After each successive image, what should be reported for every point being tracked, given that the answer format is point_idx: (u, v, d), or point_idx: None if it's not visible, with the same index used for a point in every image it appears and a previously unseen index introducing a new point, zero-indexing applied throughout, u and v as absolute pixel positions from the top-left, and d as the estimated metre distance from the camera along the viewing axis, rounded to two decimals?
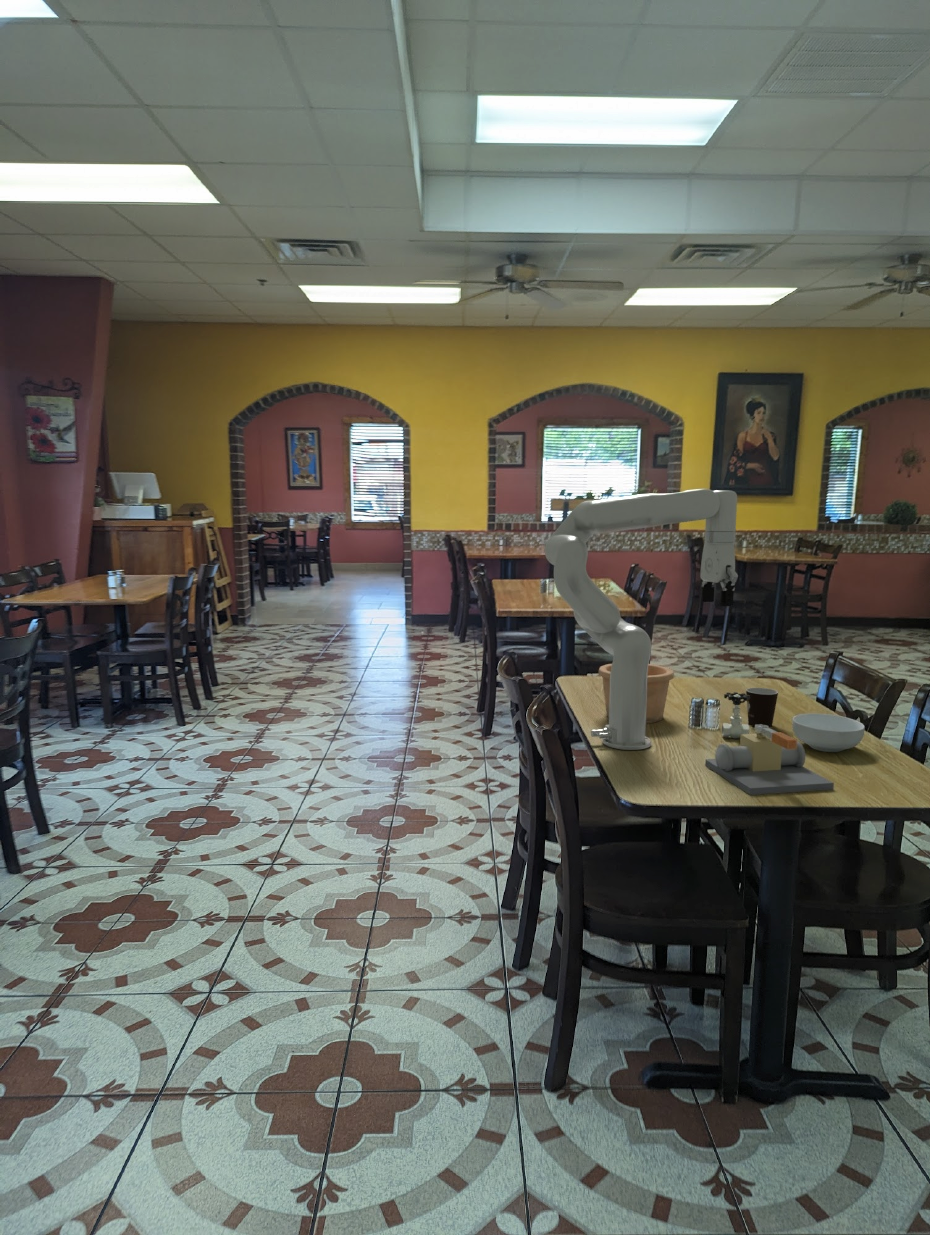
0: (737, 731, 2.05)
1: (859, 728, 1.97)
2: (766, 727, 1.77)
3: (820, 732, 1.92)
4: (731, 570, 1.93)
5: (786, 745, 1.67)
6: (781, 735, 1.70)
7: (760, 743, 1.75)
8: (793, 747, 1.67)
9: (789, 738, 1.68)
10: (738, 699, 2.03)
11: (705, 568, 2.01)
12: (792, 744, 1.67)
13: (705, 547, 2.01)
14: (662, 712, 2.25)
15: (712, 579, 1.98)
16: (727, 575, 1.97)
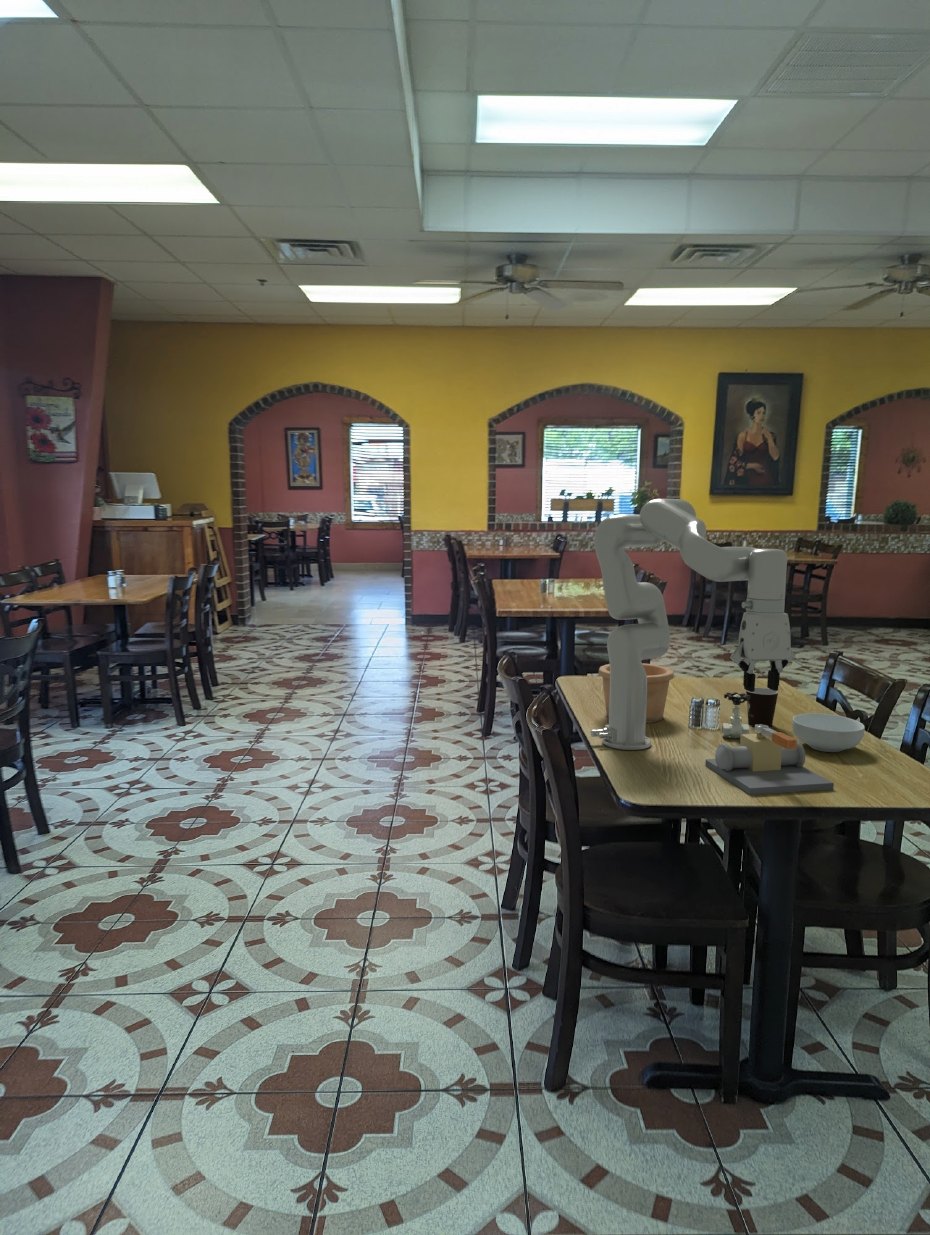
0: (737, 731, 2.05)
1: (859, 729, 1.97)
2: (766, 727, 1.77)
3: (820, 732, 1.92)
4: None
5: (786, 745, 1.67)
6: (781, 735, 1.70)
7: (760, 743, 1.75)
8: (793, 747, 1.67)
9: (789, 738, 1.68)
10: (738, 699, 2.03)
11: (763, 645, 1.62)
12: (792, 744, 1.67)
13: (760, 619, 1.61)
14: (662, 712, 2.25)
15: (779, 656, 1.63)
16: None
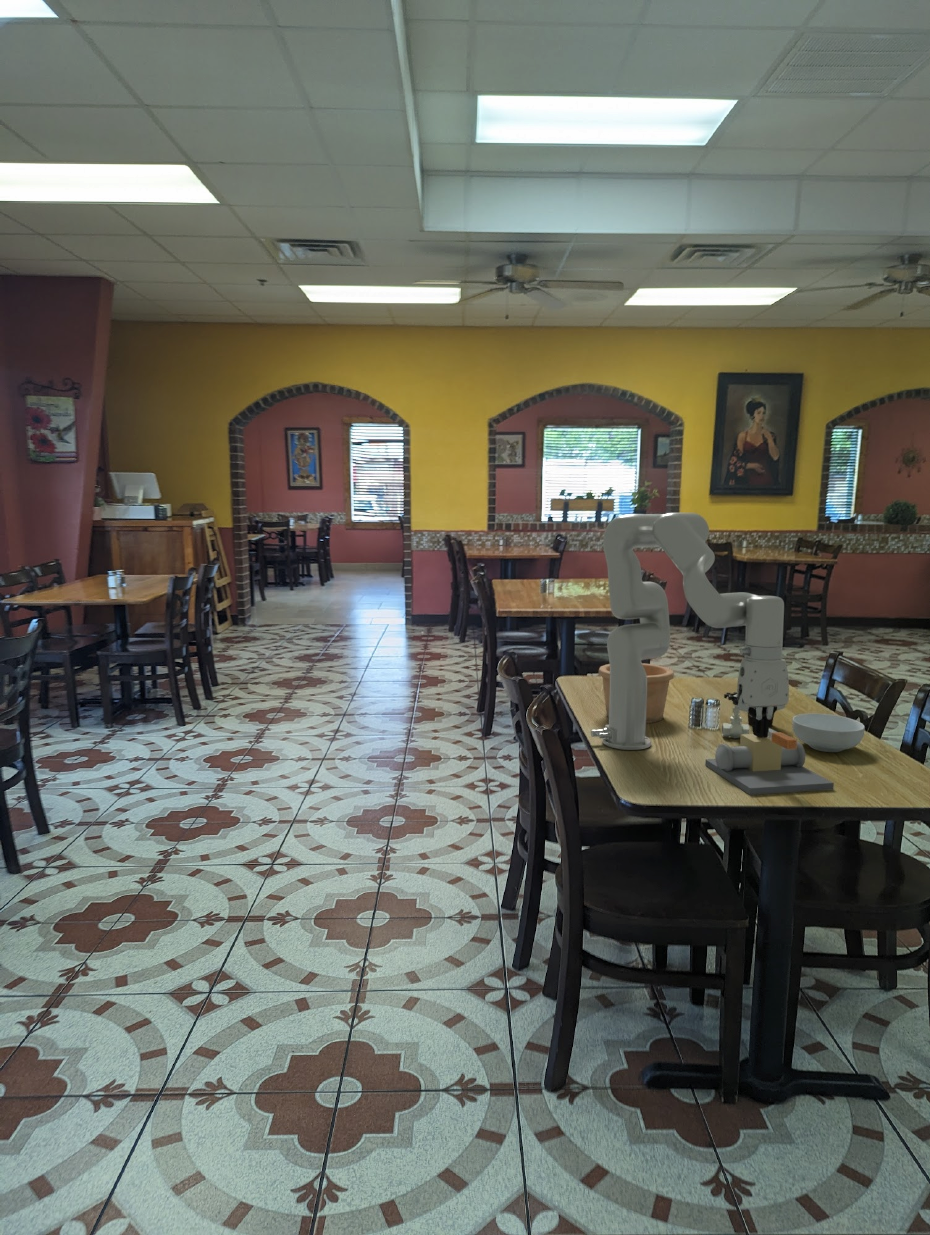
0: (737, 731, 2.05)
1: (859, 729, 1.97)
2: None
3: (820, 732, 1.92)
4: None
5: (786, 745, 1.67)
6: (781, 735, 1.70)
7: (760, 743, 1.75)
8: (793, 747, 1.67)
9: (789, 738, 1.68)
10: None
11: (761, 692, 1.63)
12: (792, 744, 1.67)
13: (758, 666, 1.62)
14: (662, 712, 2.25)
15: (778, 703, 1.64)
16: None
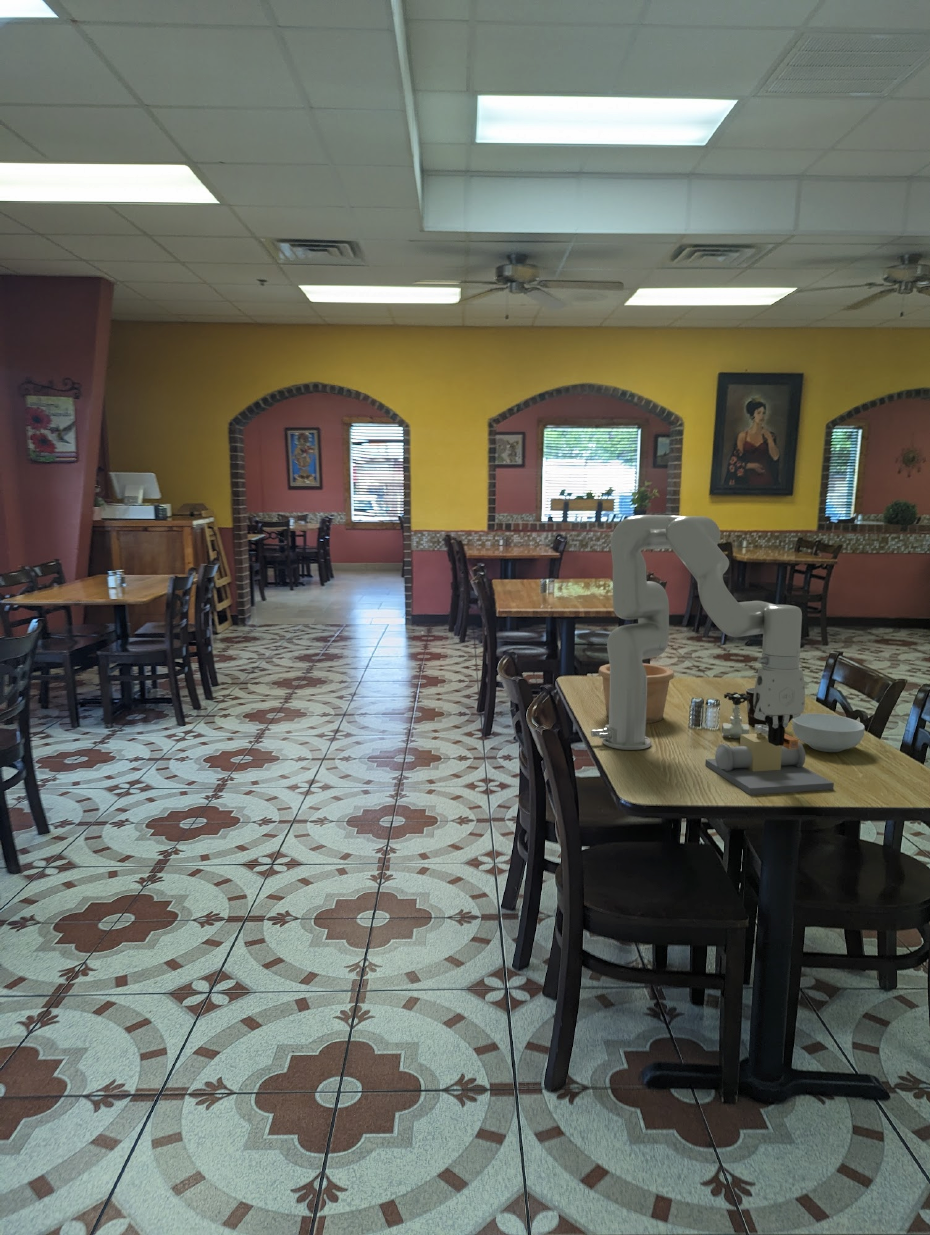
0: (737, 731, 2.05)
1: (859, 729, 1.97)
2: (766, 727, 1.77)
3: (820, 732, 1.92)
4: None
5: (788, 745, 1.67)
6: None
7: (760, 743, 1.75)
8: (795, 747, 1.67)
9: (791, 738, 1.68)
10: (738, 699, 2.03)
11: (779, 700, 1.64)
12: (794, 744, 1.67)
13: (776, 675, 1.63)
14: (662, 712, 2.25)
15: (795, 711, 1.65)
16: None
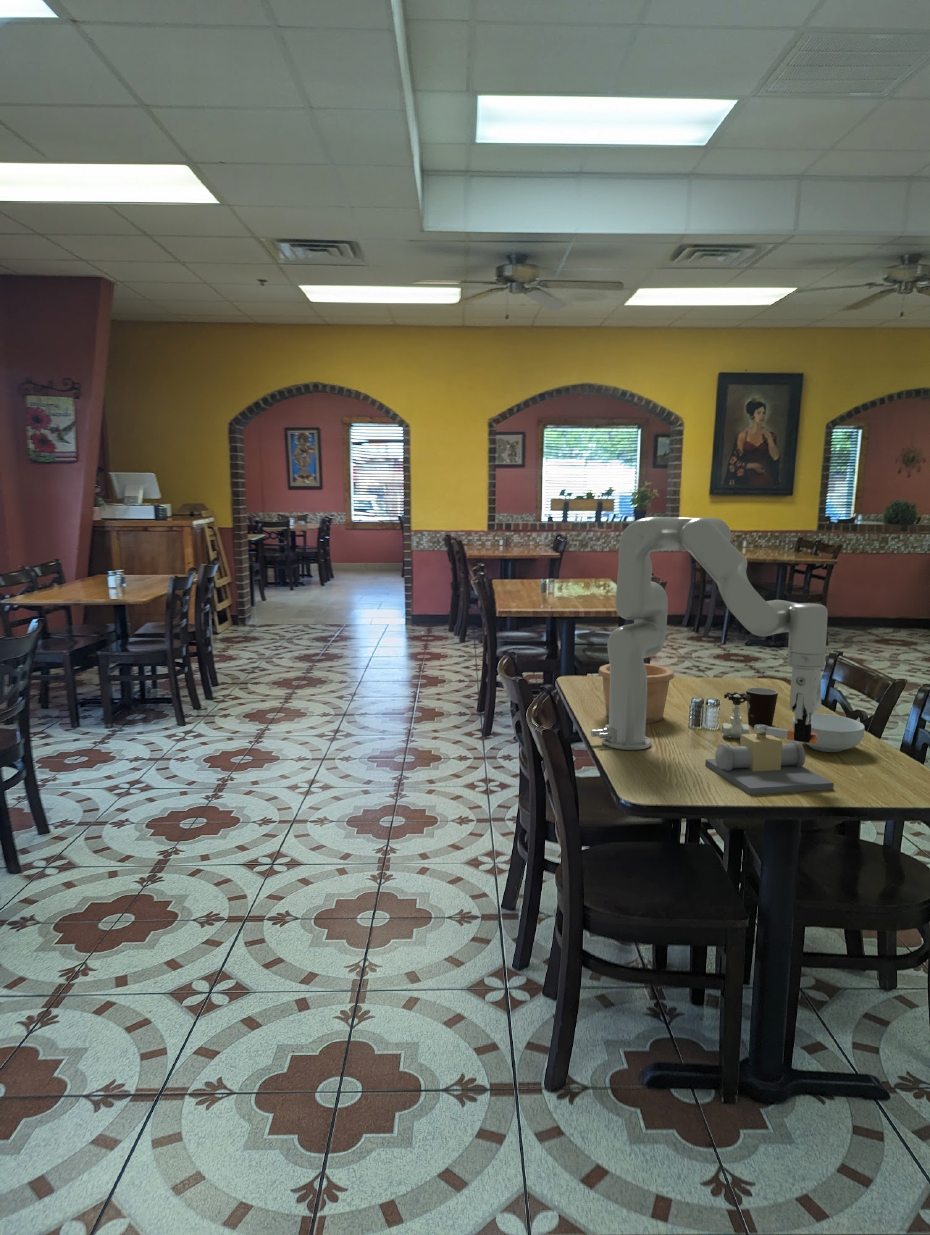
0: (737, 731, 2.05)
1: (859, 728, 1.97)
2: (767, 726, 1.78)
3: (820, 732, 1.92)
4: None
5: (813, 740, 1.70)
6: None
7: (760, 743, 1.75)
8: (817, 741, 1.71)
9: (811, 733, 1.72)
10: (738, 699, 2.03)
11: (816, 698, 1.66)
12: (816, 738, 1.71)
13: (816, 673, 1.65)
14: (662, 712, 2.25)
15: (819, 705, 1.70)
16: None
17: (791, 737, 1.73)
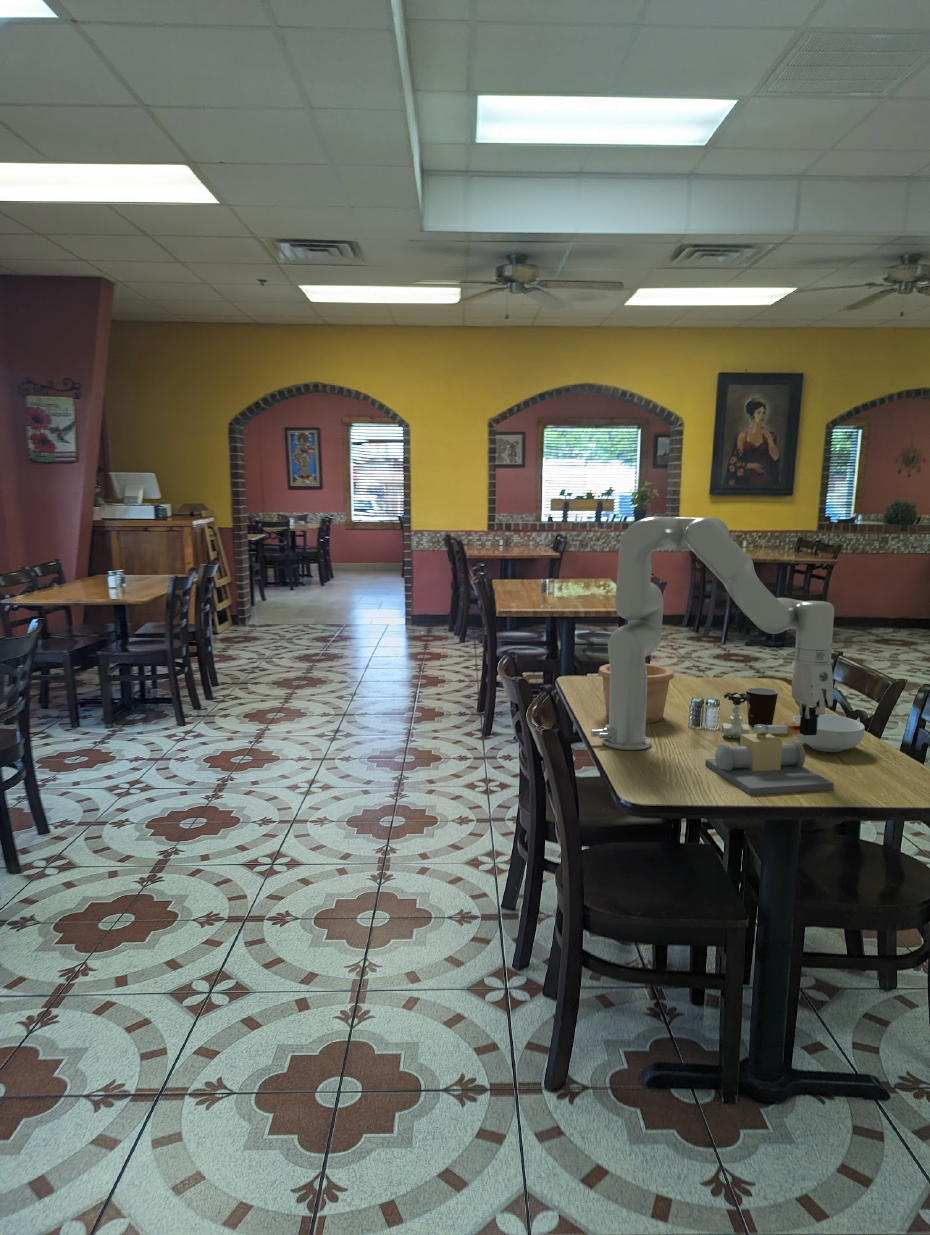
0: (737, 731, 2.05)
1: (859, 729, 1.97)
2: (765, 725, 1.79)
3: (820, 732, 1.92)
4: None
5: None
6: (796, 724, 1.79)
7: (760, 743, 1.75)
8: None
9: None
10: (738, 699, 2.03)
11: None
12: None
13: None
14: (662, 712, 2.25)
15: None
16: None
17: (792, 731, 1.78)
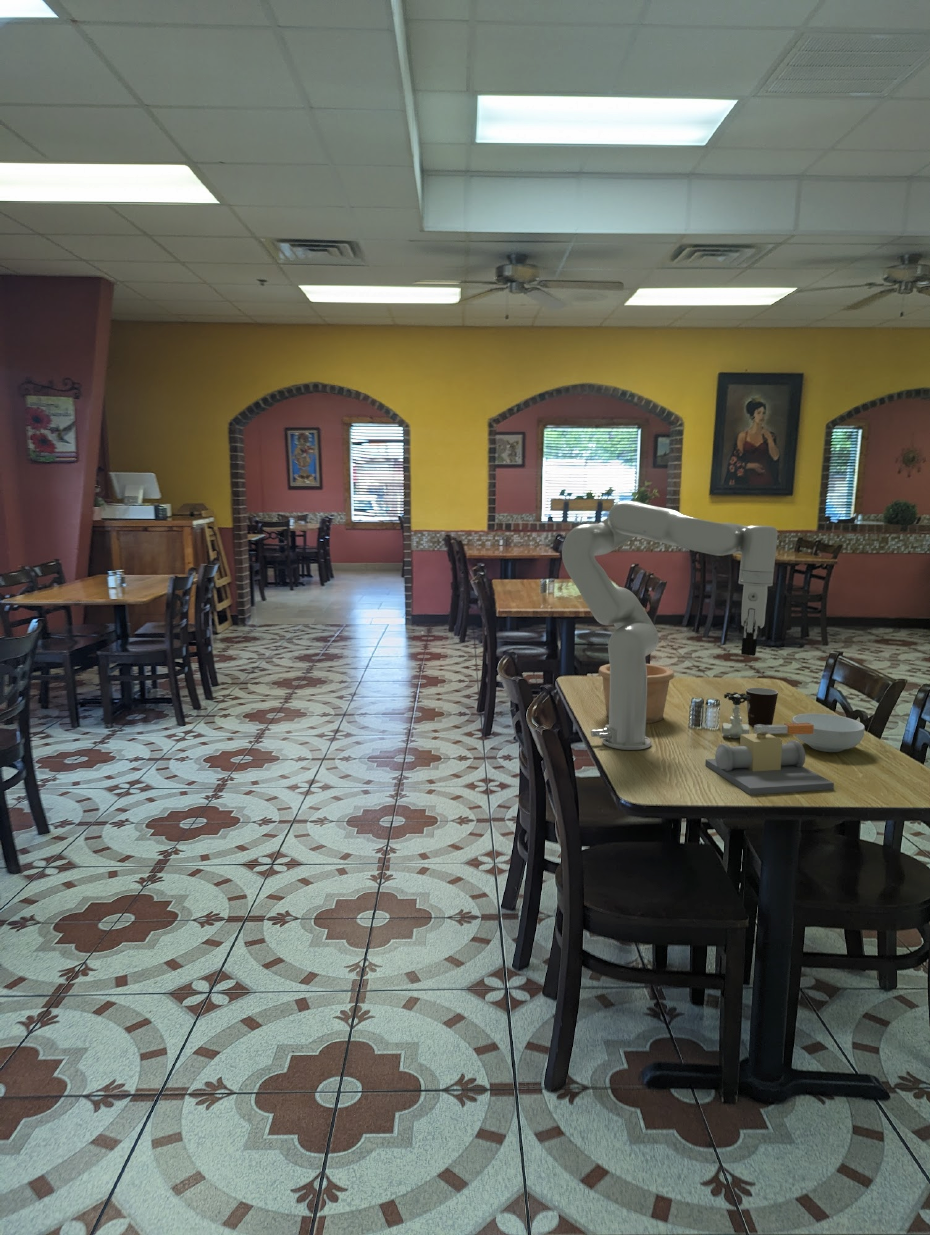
0: (737, 731, 2.05)
1: (859, 729, 1.97)
2: (765, 725, 1.79)
3: (820, 732, 1.92)
4: None
5: (811, 730, 1.78)
6: (796, 724, 1.79)
7: (760, 743, 1.75)
8: None
9: (806, 724, 1.79)
10: (738, 699, 2.03)
11: (764, 613, 1.79)
12: None
13: (766, 590, 1.77)
14: (662, 712, 2.25)
15: (764, 621, 1.83)
16: None
17: (792, 731, 1.78)
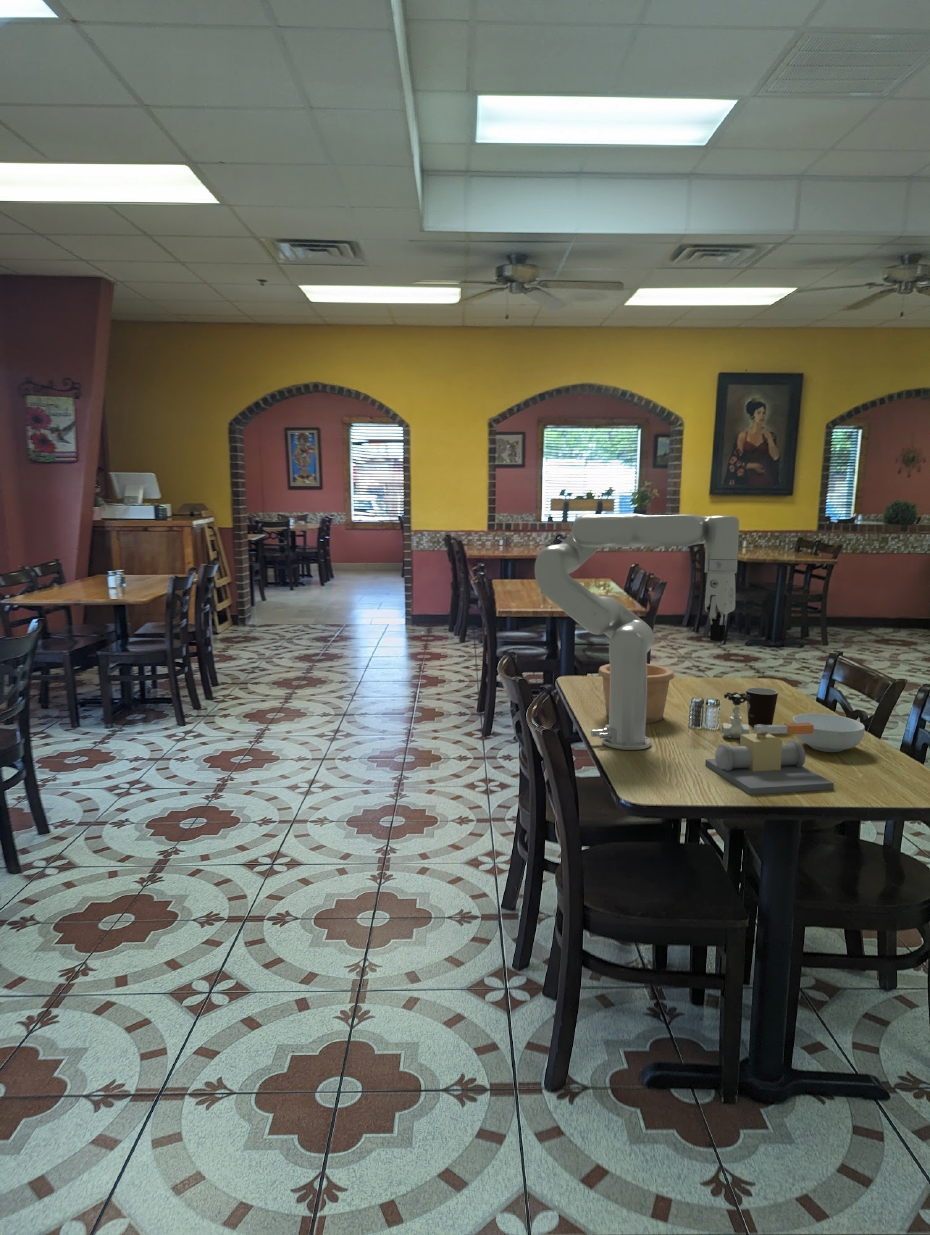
0: (737, 731, 2.05)
1: (859, 729, 1.97)
2: (765, 725, 1.79)
3: (820, 732, 1.92)
4: None
5: (811, 730, 1.78)
6: (796, 724, 1.79)
7: (760, 743, 1.75)
8: None
9: (806, 724, 1.79)
10: (738, 699, 2.03)
11: (728, 599, 1.85)
12: None
13: (727, 577, 1.84)
14: (662, 712, 2.25)
15: (733, 608, 1.89)
16: None
17: (792, 731, 1.78)
